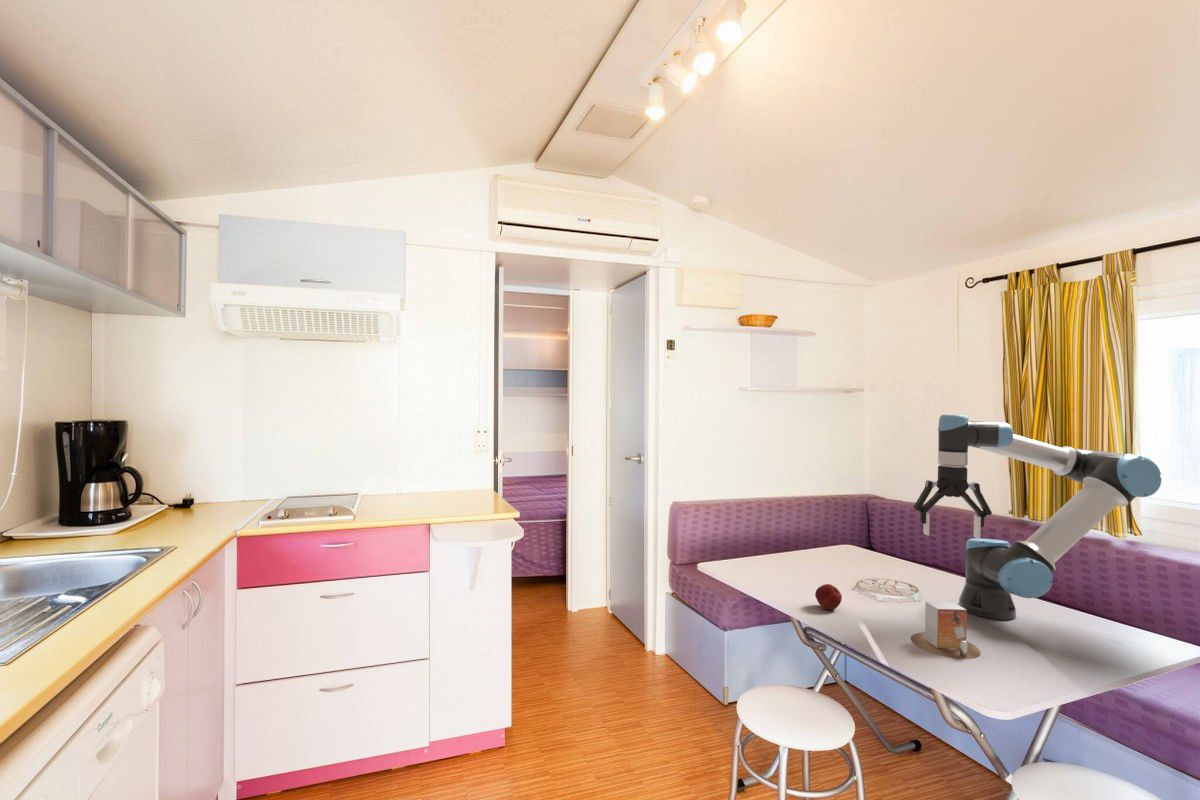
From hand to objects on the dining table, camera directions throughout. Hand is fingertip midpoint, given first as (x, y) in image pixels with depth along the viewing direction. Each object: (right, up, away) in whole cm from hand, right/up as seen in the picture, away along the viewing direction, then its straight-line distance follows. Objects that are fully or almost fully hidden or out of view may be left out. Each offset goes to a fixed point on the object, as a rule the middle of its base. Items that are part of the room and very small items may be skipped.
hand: (951, 536), depth 165 cm
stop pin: (-12, -25, -24) cm, 37 cm away
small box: (-13, -25, -17) cm, 33 cm away
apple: (-33, -26, +11) cm, 43 cm away
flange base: (-13, -26, -17) cm, 34 cm away
